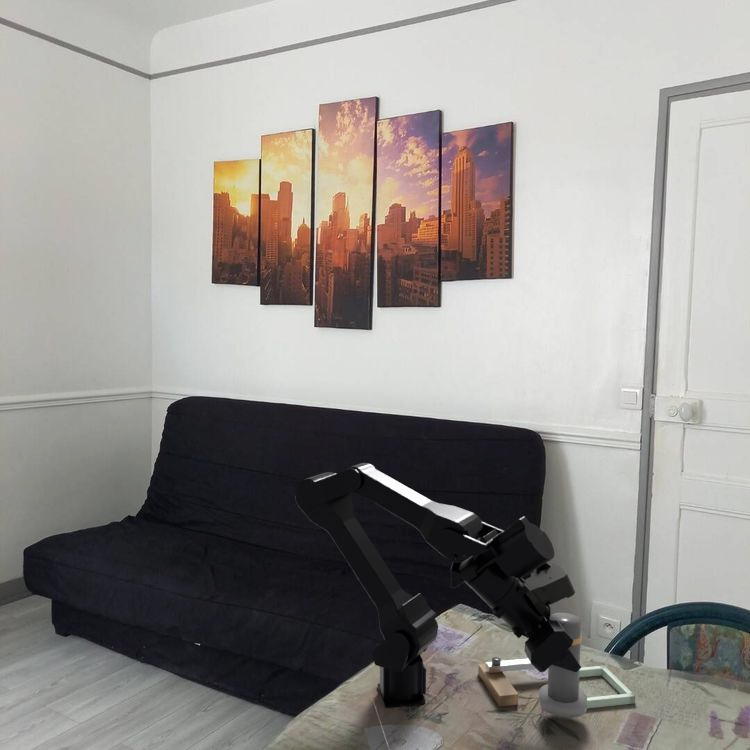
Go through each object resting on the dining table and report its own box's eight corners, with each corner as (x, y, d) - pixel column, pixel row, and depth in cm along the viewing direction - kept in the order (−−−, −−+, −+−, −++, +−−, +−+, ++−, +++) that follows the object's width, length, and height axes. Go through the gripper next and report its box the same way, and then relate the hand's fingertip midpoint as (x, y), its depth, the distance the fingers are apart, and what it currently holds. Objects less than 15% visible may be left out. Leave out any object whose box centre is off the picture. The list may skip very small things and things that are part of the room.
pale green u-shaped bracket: (576, 709, 106) (576, 701, 106) (549, 677, 116) (549, 670, 115) (634, 703, 108) (635, 695, 108) (603, 672, 117) (604, 665, 117)
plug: (551, 720, 99) (554, 631, 98) (531, 694, 106) (533, 611, 105) (595, 715, 101) (598, 627, 100) (573, 690, 107) (575, 607, 106)
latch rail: (499, 706, 107) (499, 695, 107) (478, 674, 117) (478, 664, 117) (518, 704, 107) (518, 694, 107) (495, 672, 117) (495, 662, 117)
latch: (489, 672, 113) (489, 662, 113) (485, 668, 114) (485, 657, 114) (564, 665, 115) (565, 655, 115) (560, 661, 117) (560, 650, 117)
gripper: (559, 573, 92) (639, 653, 93) (524, 530, 110) (591, 597, 112) (498, 632, 92) (579, 711, 94) (473, 579, 111) (540, 646, 112)
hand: (573, 661), depth 103 cm, fingers closed on plug, 4 cm apart
